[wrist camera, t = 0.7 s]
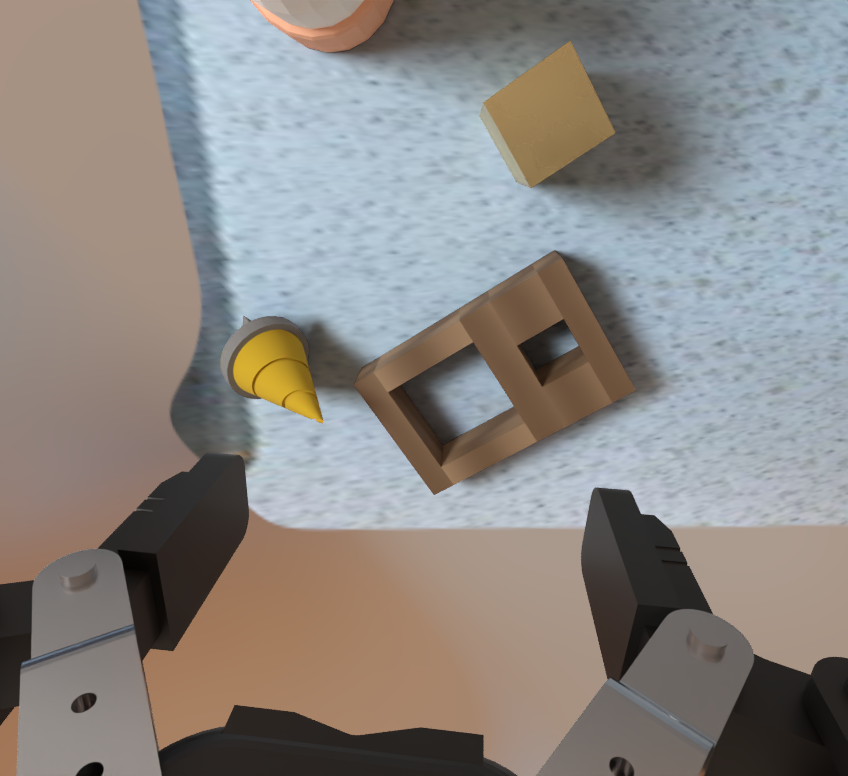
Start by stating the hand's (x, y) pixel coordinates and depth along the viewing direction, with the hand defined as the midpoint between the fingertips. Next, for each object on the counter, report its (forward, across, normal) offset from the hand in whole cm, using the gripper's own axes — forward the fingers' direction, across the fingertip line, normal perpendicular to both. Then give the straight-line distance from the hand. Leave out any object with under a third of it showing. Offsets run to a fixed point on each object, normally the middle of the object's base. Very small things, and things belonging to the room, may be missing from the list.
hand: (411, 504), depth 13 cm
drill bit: (+23, +10, +5) cm, 26 cm away
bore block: (+23, -3, +5) cm, 24 cm away
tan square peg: (+24, -4, -9) cm, 25 cm away
